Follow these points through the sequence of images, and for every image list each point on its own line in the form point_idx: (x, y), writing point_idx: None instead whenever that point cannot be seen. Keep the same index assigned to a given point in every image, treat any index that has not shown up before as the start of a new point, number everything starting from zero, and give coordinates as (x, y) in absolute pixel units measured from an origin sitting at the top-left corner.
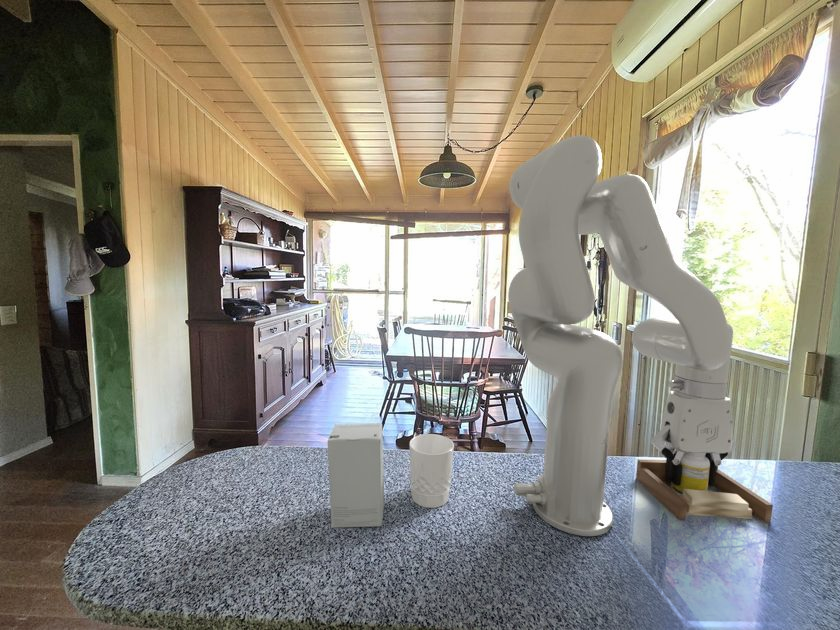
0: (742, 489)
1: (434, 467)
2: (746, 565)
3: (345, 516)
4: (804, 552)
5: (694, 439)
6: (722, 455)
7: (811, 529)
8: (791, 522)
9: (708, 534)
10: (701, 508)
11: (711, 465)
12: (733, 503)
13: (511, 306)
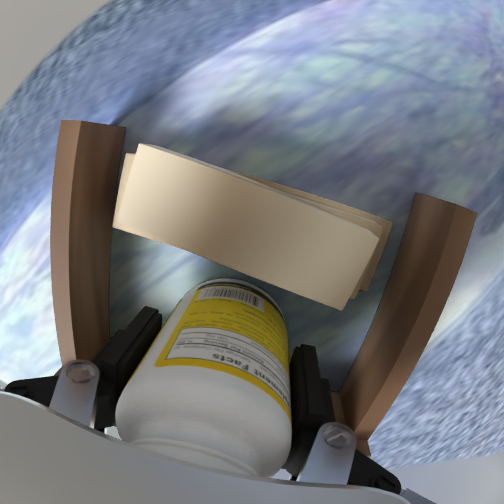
0: (71, 241)
1: None
2: (398, 8)
3: None
4: (151, 13)
5: None
6: (34, 392)
7: (30, 109)
8: (43, 138)
9: (393, 121)
10: (333, 209)
11: (116, 375)
12: (201, 163)
13: None
